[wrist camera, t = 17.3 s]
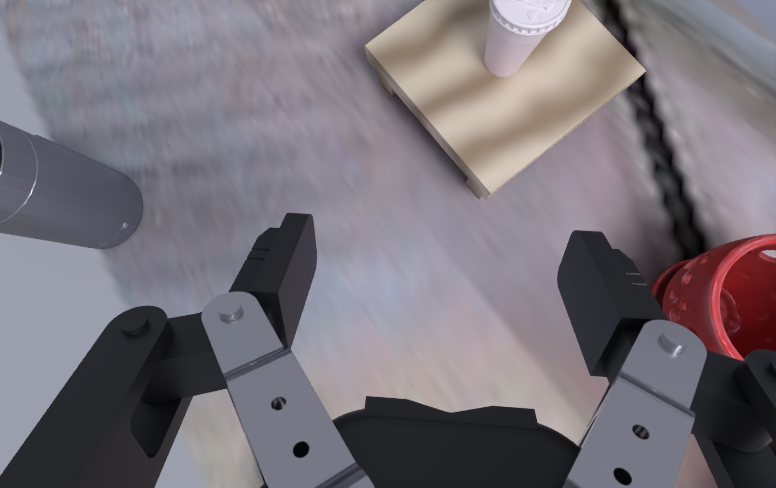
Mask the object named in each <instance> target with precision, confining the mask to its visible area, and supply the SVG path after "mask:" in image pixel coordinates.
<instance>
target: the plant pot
mask: <svg viewBox="0 0 776 488" xmlns="http://www.w3.org/2000/svg"><path fill="white" fill-rule="evenodd" d="M764 250H776V234H767V235H759V236H754V237H750V238H745V239H741V240H737V241H734V242H730V243H727V244H724V245H721V246H718V247H716V248H713V249H711V250H709V251H707V252H705V253H702V254H700V255H699V256H697V257H695V258H694V259H689V260H685V261H681V262H679V263H676V264H674V265H673V266H671V267H669V268H668V269H666V270H665V271H664V272H663V273H662V274H661V275H660V276H659V277H658V278H657V280H656V281H655V283H654V284H653V286H652V288H651V292H652V294H653V295H654V297H655V299H656V300H657V302H658V304H659V305H660V307H661V309H662V310H663V312H664V313H665V315H666V317H667V318H668V320H669V321H670V322H674V323H676V324H679V325H681V326H683V327H685V328H687V329H688V330H690V331H691V332H693V333H694V334H695V335H696V336H697V337H698V338H699V339H700V340H701V341H702V342H703V344H704V346H705V348H706V350H708V351H711V352H715V353H718V354H721V355H725V356H728V357H731V358H735V359H738V360H741V361H743V360H744V359H745V357H746V356H747V355H748V354H749V353H750V352H752V351H754V350H759V349H763V350H771V351H775V352H776V258H773V257H770V256H767V255H765V254H764V253H762V252H761V251H764Z"/></svg>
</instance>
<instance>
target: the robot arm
mask: <svg viewBox="0 0 776 488" xmlns="http://www.w3.org/2000/svg"><path fill="white" fill-rule="evenodd" d="M141 214H142V199H141V195H140V193H139V190H138V188H137V187H136V185H135V184H134V183H133V182H132V181H131V180H130V179H129V178H127V177H126V176H124V175H122V174H120V173H117V172H115V171H113V170H111V169H108V168H107V167H106V166H105V165H103V164H101V163H99V162H97V161H95V160H92V159H90V158H88V157H86V156H83V155H81V154H79V153H77V152H75V151H72V150H70V149H68V148H66V147H63V146H61V145H59V144H57V143H54V142H52V141H50V140H48V139H46V138H43V137H41V136H38V135H32V134H30V133H27V132H25V131H23V130H20V129H18V128H16V127H13V126H11V125H9V124H7V123H4V122H2V121H0V233H5V234H11V235H17V236H23V237H29V238H35V239H41V240H47V241H53V242H59V243H65V244H70V245H77V246H82V247H88V248H96V249H104V248H110V247H113V246H116V245H118V244H120V243H121V242H123V241H125V240H126V239H127V238H128V237H129V236H130V235H131V234H132V233H133V232H134V230H135V229H136V228H137V225H138V223H139V221H140V218H141ZM316 263H317V250H316V241H315V231H314V222H313V216H312V215H311V214H301V213H287V214H286V216H285V218H284V220H283V222H282V224H281V226H280V228H269V229H267V230H266V231H265V232H264V233H262V234H261V235H260V236H259V237H258V238H257V240H256V242H255V244H254V246H253V247H252V251H250V253H249V255H248V257H247V260H245V262H244V264H243V266H242V268H241V270H240V272H239V274H238V275H237V277H236V279H235V281H234V283H233V285H232V287H231V288H230V290H229V292H228V293H225V294H222V295H220V296H218V297H216V298H214V299H213V300H211V301H210V302H209V303H208V304H207V305H206V306H205V308H204V310H203V312H200V313H196V314H191V315H186V316H180V317H175V318H169V319H168V318H167V315H166V313H165V312H164V311H163V310H162V309H161V308H158V307H155V306H140V307H136V308H132V309H130V310H127V311H125V312H123V313H121V314H120V315H118V316H117V317H115V318H114V319H113V320H112V321H111V322H110V323H109V324H108V325H107V327H106V328H105V329H104V331H103V332H102V333H101V335H100V336H99V338H98V339H97V341H96V342H95V344H94V345H93V346H92V348H91V349H90V350H89V352H88V353H87V355H86V356H85V358H84V359H83V360H82V362H81V363H80V364H79V366H78V367H77V369H76V370H75V371H74V373H73V374H72V376H71V377H70V378H69V380H68V381H67V383H66V384H65V386H64V387H63V388H62V390H61V391H60V393H59V394H58V395H57V397H56V398H55V400H54V401H53V403H52V404H51V405H50V407H49V408H48V409H47V411H46V412H45V414H44V415H43V416H42V418H41V419H40V421H39V422H38V424H37V425H36V426H35V428H34V429H33V431H32V432H31V433H30V435H29V436H28V438H27V439H26V440H25V442H24V443H23V445H22V446H21V447H20V449H19V450H18V452H17V453H16V455H15V456H14V457H13V459H12V460H11V461H10V463H9V464H8V466H7V467H6V469H5V470H4V471H3V473H2V474H1V476H0V488H154V487H155V485H156V482H157V480H158V478H159V475H160V473H161V470H162V468H163V465H164V463H165V461H166V459H167V456H168V454H169V452H170V449H171V447H172V445H173V442H174V440H175V437H176V435H177V433H178V430H179V428H180V426H181V423H182V421H183V419H184V416H185V414H186V412H187V409H188V407H189V404H190V402H191V400H192V397H193V396H195V395H199V394H204V393H208V392H213V391H218V390H222V389H227V390H228V393H229V395H230V398H231V400H232V403H233V405H234V408H235V410H236V413H237V416H238V418H239V421H240V423H241V426H242V428H243V431H244V433H245V436H246V439H247V441H248V444H249V446H250V449H251V452H252V454H253V457H254V460H255V462H256V465H257V467H258V470H259V473H260V475H261V478H262V480H263V483H264V484H263V485H262V486H261V487H260V488H674V485H675V482H676V478H677V475H678V472H679V469H680V465H681V462H682V459H683V456H684V452H685V449H686V446H687V443H688V440H689V436H690V433H692V434H694V436H695V438H696V440H697V442H698V444H699V446H700V449H701V451H702V453H703V455H704V457H705V459H706V462H707V464H708V466H709V468H710V470H711V472H712V475H713V477H714V479H715V481H716V483H717V485H718V488H776V456H775V455H774V453H773V451H772V450H771V448H770V446H769V445H768V444H769V443H770V442H771V441H772V440H773V441H774V443H775V445H776V352H775V351H771V350H763V349H759V350H754V351H752V352H750V353H749V354H748V355H747V356H746V357H745V359H744V360H743V361H741V360H738V359H735V358H731V357H728V356H725V355H721V354H718V353H715V352H711V351H708V350H706V348H705V346H704V344H703V342H702V341H701V340H700V339H699V338H698V337H697V336H696V335H695V334H694V333H693V332H691V331H690V330H688V329H687V328H685V327H683V326H681V325H679V324H676V323H674V322H670V321H669V320H668V318H667V317H666V315H665V313H664V312H663V310H662V309H661V307H660V305H659V304H658V302H657V300H656V299H655V297H654V295H653V294H652V292H651V291H650V289H649V287H648V286H646V282H645V281H644V279H643V278H642V276H640V273H639V271H638V269H637V268H636V266H635V264H634V263H633V261H632V260H631V259H630V258H628V257H627V256H626V255H625V254H623V253H622V252H621V251H620V250H619V249H612V248H611V246H610V244H609V243H608V241H607V239H606V237H605V236H604V234H603V233H602V232H597V231H580V230H575V231H573V232H572V234H571V236H570V239H569V241H568V244H567V247H566V250H565V253H564V255H563V258H562V261H561V264H560V266H559V270H558V276H557V282H558V288H559V291H560V294H561V296H562V299H563V302H564V305H565V307H566V310H567V313H568V316H569V318H570V321H571V324H572V327H573V329H574V332H575V335H576V338H577V340H578V343H579V346H580V349H581V351H582V354H583V357H584V360H585V362H586V365H587V368H588V371H589V373H590V376H601V377H607V379H608V381H609V385H608V387H607V389H606V391H605V392H604V394H603V396H602V398H601V400H600V402H599V404H598V406H597V408H596V410H595V411H594V413H593V415H592V417H591V419H590V421H589V423H588V425H587V427H586V429H585V431H584V432H583V434H582V436H581V438H580V440H579V442H578V443H577V445H576V444H575V443H574V442H572V441H571V440H569V439H568V438H567V437H565V436H564V435H562V434H560V433H559V432H557V431H555V430H553V429H551V428H549V427H547V426H544V425H542V424H539V423H537V419H536V414H535V410H534V409H527V408H514V407H501V406H489V407H483V408H477V409H471V410H466V411H460V412H453V413H450V412H445V411H442V410H439V409H436V408H433V407H429V406H426V405H423V404H420V403H417V402H414V401H411V400H408V399H397V398H384V397H371V396H366V402H365V409H361V410H356V411H353V412H350V413H346V414H344V415H342V416H340V417H337V418H336V419H334V420H331V418H330V417H329V415H328V413H327V411H326V410H325V408H324V406H323V404H322V403H321V401H320V399H319V397H318V396H317V394H316V392H315V390H314V389H313V387H312V385H311V383H310V382H309V380H308V378H307V376H306V375H305V373H304V371H303V370H302V368H301V366H300V364H299V363H298V361H297V359H296V357H295V356H294V354H293V352H292V351H291V346H292V343H293V340H294V336H295V333H296V330H297V327H298V324H299V321H300V318H301V314H302V311H303V308H304V305H305V302H306V299H307V296H308V292H309V289H310V286H311V283H312V280H313V277H314V274H315V270H316Z"/></svg>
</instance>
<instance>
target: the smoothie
mask: <svg viewBox="0 0 776 488" xmlns="http://www.w3.org/2000/svg"><path fill="white" fill-rule="evenodd" d="M570 4H571V0H489V5H490V9H491V10H490V19H489V26H488V34H487V41H486V49H485V56H484V63H485V66H486V68H487V69H488V71H489V72H490V73H492V74H493V75H495V76H499V77H507V76H510V75H512V74H514V73H515V72H516V71H517V70H518V69H519V68H520V66H521V65H522V64H523V63H524V61H525V60H526V59H527V58H528V56H529V55H530V54H531V53H532V51H533V50H534V49H535V48H536V46H537V45H538V44H539V42H540V41H541V40H542V39H543V37H544V36H545V35H546V34H547V33H548V31H550V30H552V29H553V28H555V27H556V26H558V24H559V23H560V22H561V21H562V20H563V18H564V17H565V15H566V13H567V10H568V8H569V6H570Z"/></svg>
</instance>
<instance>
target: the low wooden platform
mask: <svg viewBox="0 0 776 488" xmlns="http://www.w3.org/2000/svg"><path fill="white" fill-rule="evenodd" d="M490 10H491V9H490V5H489V0H425V1H423V2H422V3H421V4H419V5H418V6H417V7H415V8H414V9H413V10H411V11H410V12H409V13H407V14H406V15H405V16H403V17H402V18H401V19H399V20H398V21H397V22H395V23H394V24H393V25H391V26H390V27H389V28H387V29H386V30H385V31H383V32H382V33H381V34H379V35H378V36H377V37H375V38H374V39H373V40H371V41H370V42H369V43H367V44H366V45H365V50H366V57H367V60H368V61H369V62H370V63H371V64H372V66H373V67H374V68H375V69H376V70H377V71H378V73H379V82H380V83H381V84H382V85H383V86H384V88H385V89H386V90H387V91H388V92H389V93H390V95H391V96H393V95H394V94H397V95H398V96H399V97H400V99H401V100H402V101H403V102H404V103H405V104H406V106H407V107H408V108H409V109H410V110H411V111H412V113H413V114H414V115H415V116H416V117H417V119H418V120H419V121H420V122H421V123H422V124H423V126H424V127H425V128H426V129H427V130H428V132H429V133H430V134H431V135H432V136H433V137H434V139H435V140H436V141H437V142H438V143H439V144H440V146H441V147H442V148H443V149H444V150H445V152H446V153H447V154H448V155H449V156H450V157H451V159H452V160H453V161H454V162H455V163H456V164H457V166H458V167H459V168H460V169H461V170H462V172H463V173H464V174H465V175H466V176H467V177H468V179H467V181H466V185H467V186H468V187H469V188H470V189H471V190H472V192H473V193H474V194H475V195H476V196H477V198H478V199H480V198H481V197H482V196H484V197H485V199H487V198H488V197H490V196H491V195H492V194H493V193H495V192H496V191H497V190H498V189H500V188H501V187H502V186H503V185H505V184H506V183H507V182H508V181H510V180H511V179H512V178H514V177H515V176H516V175H517V174H519V173H520V172H521V171H522V170H524V169H525V168H526V167H527V166H529V165H530V164H531V163H533V162H534V161H535V160H536V159H538V158H539V157H540V156H541V155H543V154H544V153H545V152H546V151H548V150H549V149H550V148H551V147H553V146H554V145H555V144H557V143H558V142H559V141H560V140H562V139H563V138H564V137H565V136H567V135H568V134H569V133H570V132H572V131H573V130H574V129H576V128H577V127H578V126H579V125H581V124H582V123H583V122H584V121H586V120H587V119H588V118H589V117H591V116H592V115H593V114H594V113H596V112H597V111H598V110H600V109H601V108H602V107H603V106H605V105H606V104H607V103H608V102H610V101H611V100H612V99H613V98H615V97H616V96H617V95H618V94H620V93H621V92H622V91H624V90H625V89H626V88H627V87H629V86H630V85H631V84H632V83H634V82H635V81H636V80H637V79H638V78H639V77H640V76H641V75H642V74H643V73H644V72H645V71H646V70H645V69H644V68H643V67H642V66H641V65H640V64H639V63H638V62H637V61H636V60H635V59H634V57H633V56H632V55H631V54H630V53H629V52H628V51H627V50H626V49H625V48H624V47H623V46H622V45H621V44H620V43H619V42H618V41H617V40H616V39H615V38H614V37H613V36H612V35H611V33H610V32H609V31H608V30H607V29H606V28H605V27H604V26H603V25H602V24H601V23H600V22H599V21H598V20H597V19H596V18H595V17H594V16H593V15H592V14H591V13H590V12H589V11H588V10H587V8H586V7H585V6H584V5H583V4H582V3H581V2H580V1H579V0H571V4H570V6H569V8H568V10H567V13H566V15H565V17H564V18H563V20H562V21H561V22H560V23H559V24H558V26H556V27H555V28H553V29H552V30H550V31H548V33H547V34H546V35H545V36H544V37H543V39H542V40H541V41H540V42H539V44H538V45H537V46H536V48H535V49H534V50H533V51H532V53H531V54H530V55H529V56H528V58H527V59H526V60H525V61H524V63H523V64H522V65H521V66H520V68H519V69H518V70H517V71H516V72H515V73H514V74H512V75H510V76H507V77H499V76H495V75H493V74H492V73H490V72H489V71H488V69H487V68H486V66H485V63H484V56H485V49H486V41H487V34H488V26H489V19H490Z"/></svg>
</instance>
